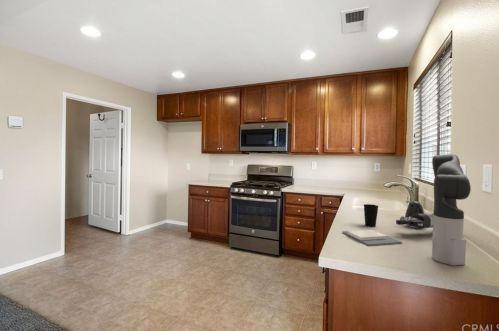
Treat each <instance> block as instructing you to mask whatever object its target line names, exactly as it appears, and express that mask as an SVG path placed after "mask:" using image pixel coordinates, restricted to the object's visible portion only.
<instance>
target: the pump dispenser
mask: <svg viewBox="0 0 499 331" xmlns="http://www.w3.org/2000/svg"><path fill="white" fill-rule="evenodd" d="M424 213H425V210H424V207H423V205H422V204H421V202H419V201H418V200H413V201H411V202H409V203H408V206H407V208H406V210H405V214H404V217H405V218H409V217H413V216H414V215H415V214H424ZM408 227H410V228H413V229H417V228H416V227H415V226H408Z"/></svg>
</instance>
